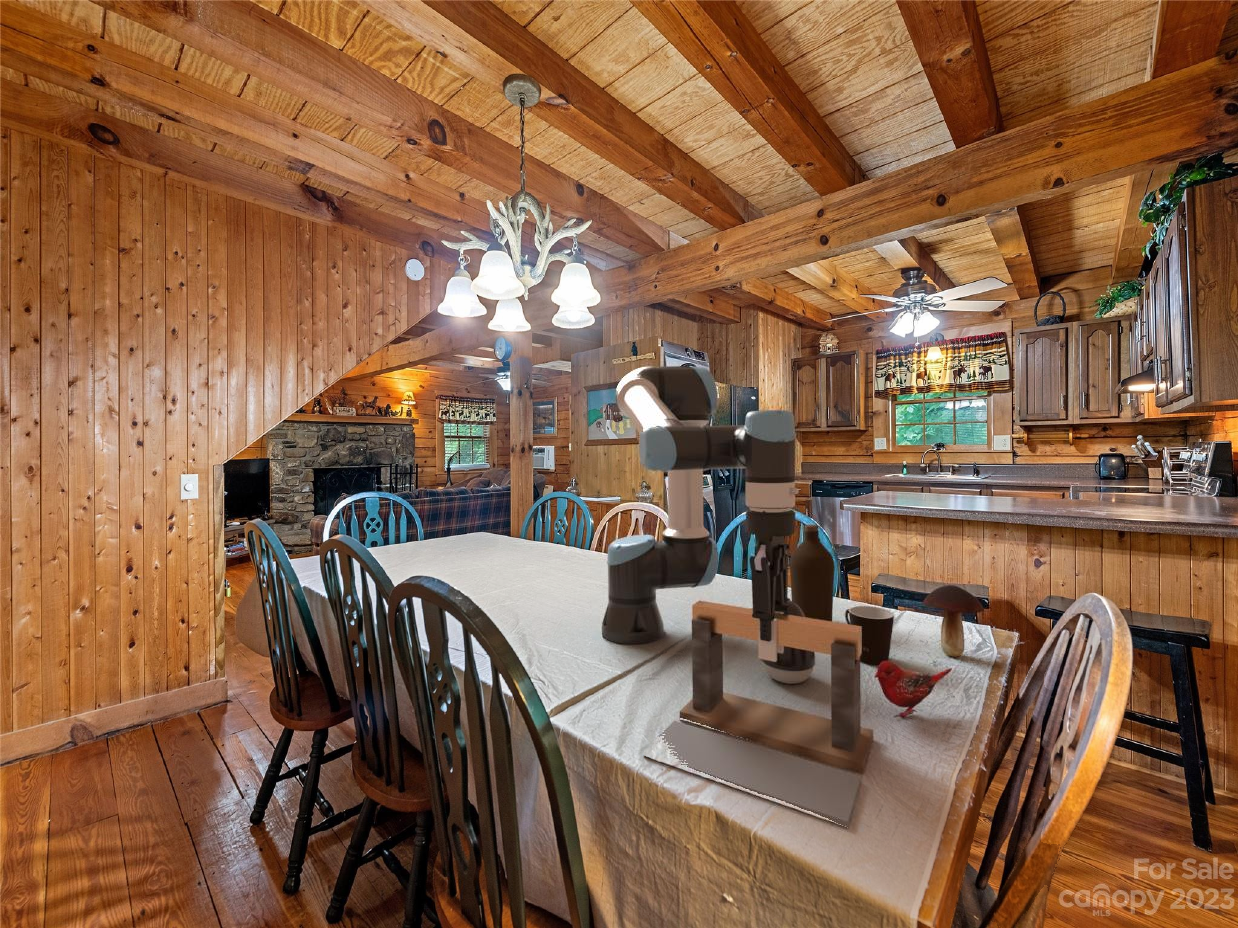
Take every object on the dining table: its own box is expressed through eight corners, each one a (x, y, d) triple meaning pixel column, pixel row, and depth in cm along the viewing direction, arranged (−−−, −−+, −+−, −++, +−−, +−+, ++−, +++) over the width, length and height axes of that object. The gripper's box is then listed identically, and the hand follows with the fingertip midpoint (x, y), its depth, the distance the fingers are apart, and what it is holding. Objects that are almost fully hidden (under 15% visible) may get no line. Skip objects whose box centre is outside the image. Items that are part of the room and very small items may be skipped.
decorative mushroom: (912, 647, 116) (911, 580, 116) (958, 644, 117) (958, 578, 117) (946, 667, 106) (947, 593, 105) (998, 664, 106) (998, 591, 106)
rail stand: (679, 719, 88) (678, 621, 87) (704, 695, 96) (702, 605, 95) (863, 774, 72) (862, 655, 72) (873, 739, 81) (873, 633, 80)
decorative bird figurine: (867, 720, 86) (867, 660, 86) (944, 699, 93) (944, 643, 92) (882, 728, 84) (881, 666, 83) (960, 707, 90) (960, 649, 90)
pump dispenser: (815, 669, 106) (814, 595, 105) (816, 693, 96) (815, 610, 96) (762, 664, 109) (761, 591, 109) (758, 685, 99) (757, 606, 99)
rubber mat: (643, 756, 78) (643, 751, 77) (674, 725, 86) (674, 720, 86) (847, 828, 62) (847, 821, 62) (861, 782, 71) (861, 776, 71)
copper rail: (692, 628, 90) (692, 605, 90) (699, 622, 92) (699, 600, 92) (858, 660, 76) (858, 632, 75) (861, 652, 78) (861, 626, 78)
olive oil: (805, 632, 126) (804, 529, 126) (782, 619, 137) (781, 523, 136) (844, 628, 129) (843, 527, 128) (818, 615, 139) (817, 521, 138)
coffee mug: (900, 669, 105) (900, 619, 105) (854, 666, 107) (853, 617, 107) (883, 647, 117) (883, 602, 117) (841, 644, 119) (841, 601, 118)
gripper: (779, 516, 74) (780, 680, 75) (807, 504, 88) (807, 642, 89) (728, 513, 78) (730, 668, 79) (762, 502, 92) (763, 634, 93)
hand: (771, 654), depth 84 cm, fingers closed on copper rail, 3 cm apart
